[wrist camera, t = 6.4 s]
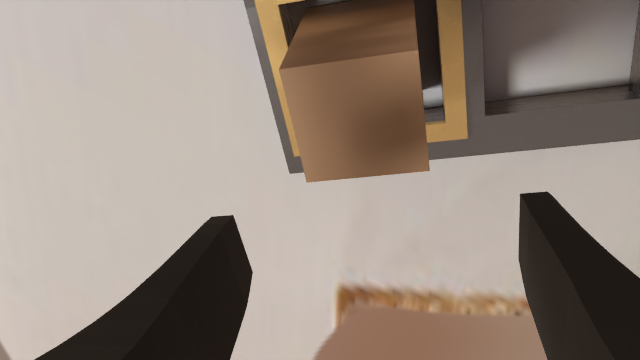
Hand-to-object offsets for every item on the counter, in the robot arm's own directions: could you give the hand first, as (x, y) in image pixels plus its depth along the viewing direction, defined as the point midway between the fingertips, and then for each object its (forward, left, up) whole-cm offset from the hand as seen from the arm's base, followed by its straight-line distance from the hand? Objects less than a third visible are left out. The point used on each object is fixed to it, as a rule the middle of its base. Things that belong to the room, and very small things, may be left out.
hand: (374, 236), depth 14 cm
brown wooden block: (+1, -1, -10) cm, 10 cm away
